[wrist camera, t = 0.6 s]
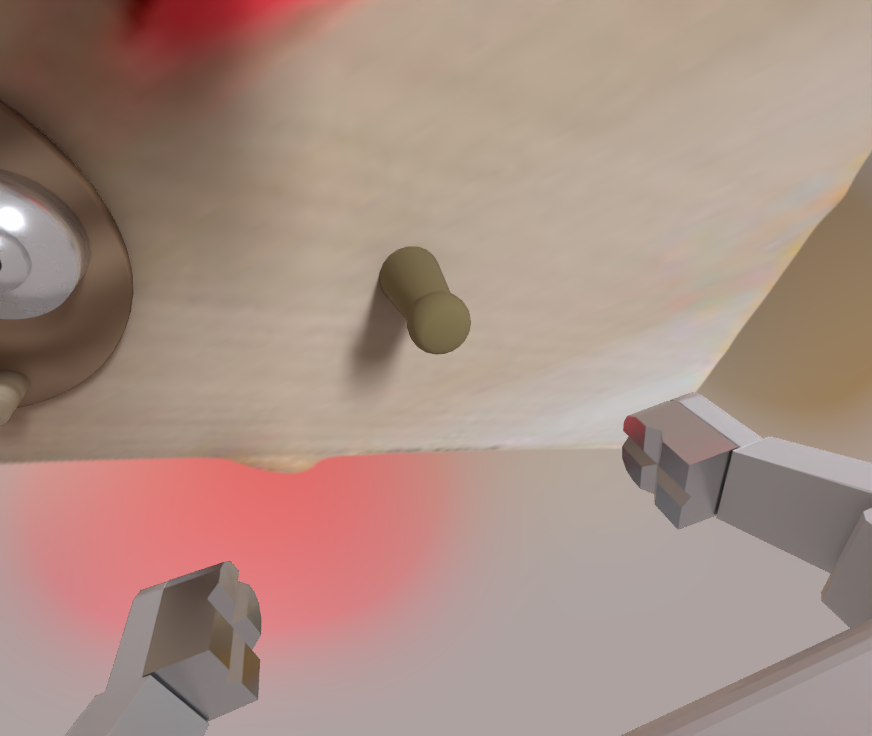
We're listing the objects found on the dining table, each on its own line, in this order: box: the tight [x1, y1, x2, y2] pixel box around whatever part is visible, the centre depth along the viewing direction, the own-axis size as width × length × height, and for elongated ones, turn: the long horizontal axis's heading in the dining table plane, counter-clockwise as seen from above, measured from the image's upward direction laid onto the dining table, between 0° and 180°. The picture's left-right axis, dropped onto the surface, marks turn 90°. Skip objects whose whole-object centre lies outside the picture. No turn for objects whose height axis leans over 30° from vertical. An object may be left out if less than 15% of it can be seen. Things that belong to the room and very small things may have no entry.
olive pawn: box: [380, 247, 471, 354], centre depth 40 cm, size 6×6×11 cm
